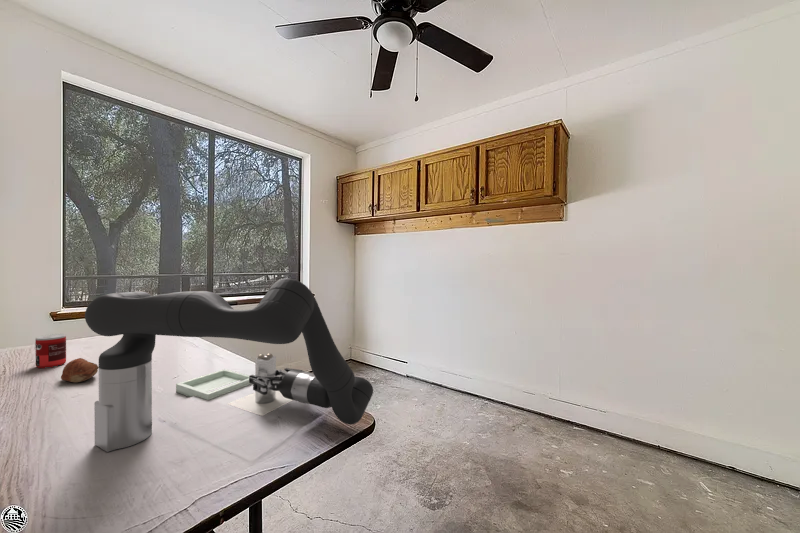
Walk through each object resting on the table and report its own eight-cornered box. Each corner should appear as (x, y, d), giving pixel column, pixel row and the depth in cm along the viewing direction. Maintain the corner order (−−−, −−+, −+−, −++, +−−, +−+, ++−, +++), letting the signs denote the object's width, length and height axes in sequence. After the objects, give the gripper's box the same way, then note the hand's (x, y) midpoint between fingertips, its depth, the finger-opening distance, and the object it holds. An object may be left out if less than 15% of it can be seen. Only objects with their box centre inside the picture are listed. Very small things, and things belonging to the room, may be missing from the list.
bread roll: (56, 367, 110) (76, 343, 111) (86, 372, 117) (105, 349, 118) (54, 392, 102) (76, 365, 103) (87, 395, 108) (107, 370, 109)
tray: (207, 403, 93) (207, 394, 93) (176, 392, 100) (176, 383, 100) (256, 384, 107) (256, 377, 107) (225, 376, 115) (225, 368, 115)
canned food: (42, 363, 125) (42, 334, 125) (70, 361, 128) (70, 333, 128) (30, 369, 118) (30, 339, 118) (60, 367, 122) (60, 337, 121)
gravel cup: (264, 405, 90) (264, 358, 90) (250, 401, 92) (251, 355, 92) (279, 398, 95) (280, 353, 94) (266, 394, 97) (267, 350, 97)
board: (261, 419, 84) (261, 415, 84) (226, 407, 91) (226, 403, 91) (301, 399, 96) (301, 396, 96) (268, 390, 103) (268, 386, 103)
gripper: (321, 364, 93) (279, 356, 101) (281, 381, 80) (236, 369, 88) (321, 391, 93) (279, 380, 101) (281, 411, 80) (236, 397, 88)
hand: (259, 375), depth 95 cm, fingers open, 5 cm apart
